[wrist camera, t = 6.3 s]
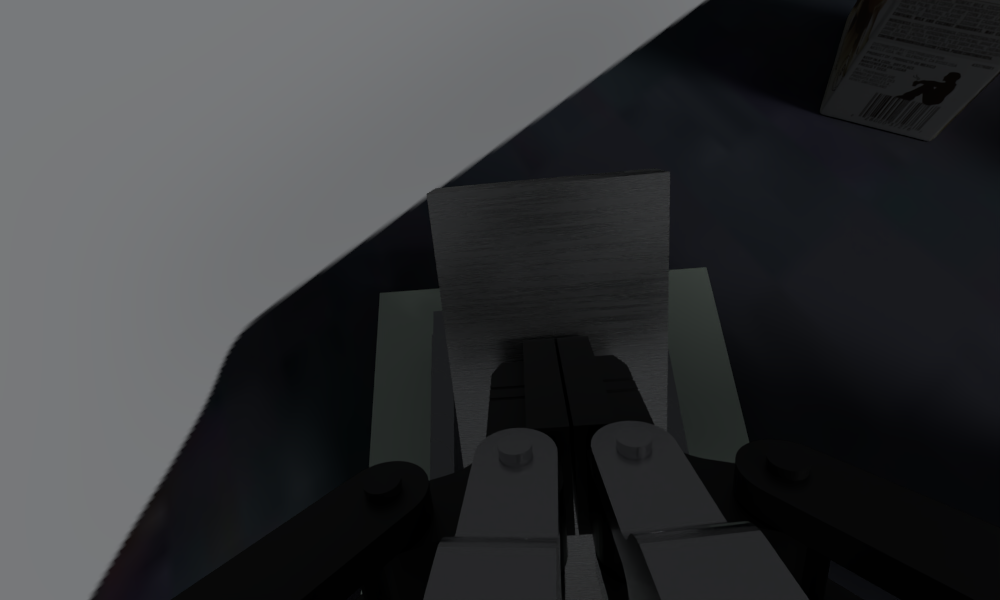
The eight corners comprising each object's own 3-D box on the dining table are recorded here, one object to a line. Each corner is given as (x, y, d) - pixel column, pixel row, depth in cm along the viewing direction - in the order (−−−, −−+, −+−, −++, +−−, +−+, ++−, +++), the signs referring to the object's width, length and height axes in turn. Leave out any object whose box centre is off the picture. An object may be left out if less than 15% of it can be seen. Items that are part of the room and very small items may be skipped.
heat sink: (653, 330, 23) (673, 293, 19) (688, 520, 20) (721, 519, 16) (438, 345, 24) (418, 312, 20) (437, 532, 20) (412, 533, 17)
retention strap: (662, 595, 15) (667, 166, 11) (676, 639, 14) (686, 170, 10) (480, 602, 16) (423, 189, 12) (476, 646, 14) (411, 195, 10)
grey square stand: (695, 285, 26) (757, 182, 18) (797, 725, 18) (978, 870, 11) (391, 309, 27) (327, 220, 19) (369, 735, 19) (250, 874, 12)
